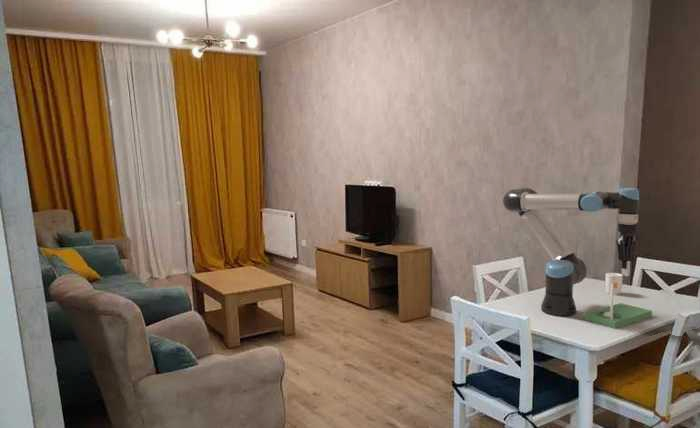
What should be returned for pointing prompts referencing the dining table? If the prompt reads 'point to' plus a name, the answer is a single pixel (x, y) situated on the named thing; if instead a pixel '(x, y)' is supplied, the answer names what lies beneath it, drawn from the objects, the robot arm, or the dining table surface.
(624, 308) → the mat
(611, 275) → the white cup
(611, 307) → the flag pin
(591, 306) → the dining table surface
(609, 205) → the robot arm
